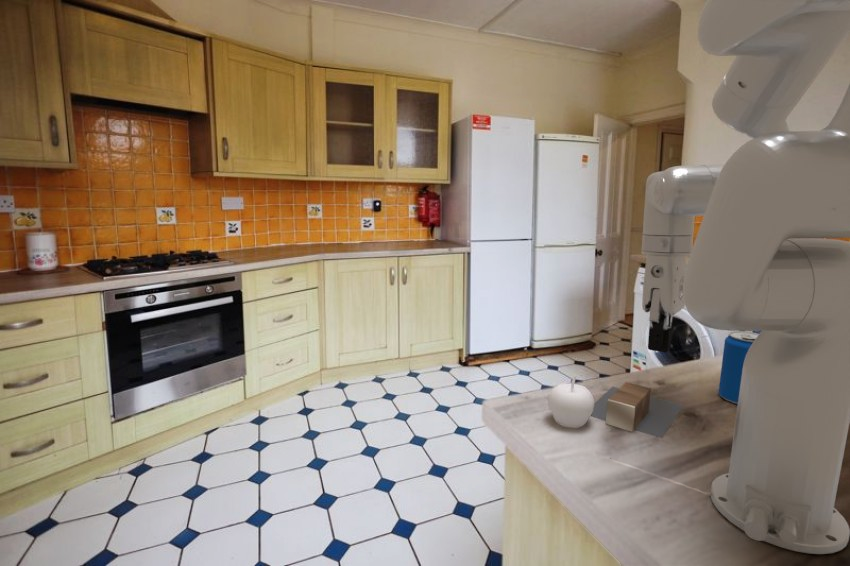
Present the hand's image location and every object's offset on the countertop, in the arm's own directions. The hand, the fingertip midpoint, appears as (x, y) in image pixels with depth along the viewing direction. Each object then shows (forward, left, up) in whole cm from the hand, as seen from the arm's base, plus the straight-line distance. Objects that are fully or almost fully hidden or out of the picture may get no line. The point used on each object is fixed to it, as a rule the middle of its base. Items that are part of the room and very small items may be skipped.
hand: (658, 349), depth 80 cm
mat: (-8, +1, -9) cm, 12 cm away
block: (-7, +1, -7) cm, 9 cm away
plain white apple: (-18, +8, -9) cm, 22 cm away
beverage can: (+8, -12, -9) cm, 17 cm away
